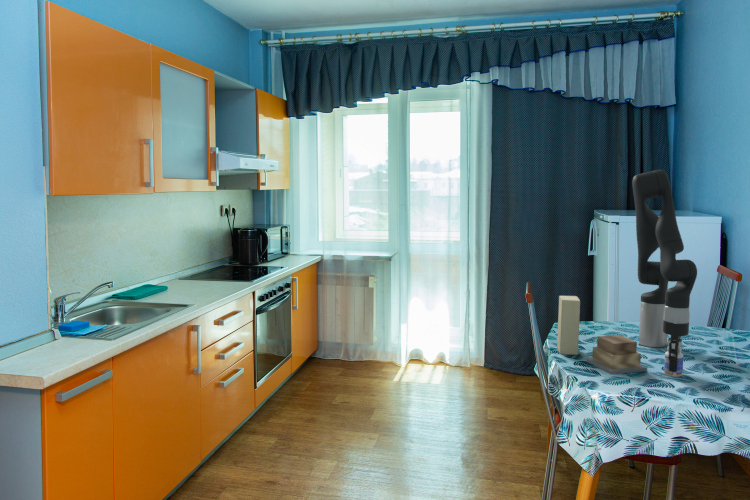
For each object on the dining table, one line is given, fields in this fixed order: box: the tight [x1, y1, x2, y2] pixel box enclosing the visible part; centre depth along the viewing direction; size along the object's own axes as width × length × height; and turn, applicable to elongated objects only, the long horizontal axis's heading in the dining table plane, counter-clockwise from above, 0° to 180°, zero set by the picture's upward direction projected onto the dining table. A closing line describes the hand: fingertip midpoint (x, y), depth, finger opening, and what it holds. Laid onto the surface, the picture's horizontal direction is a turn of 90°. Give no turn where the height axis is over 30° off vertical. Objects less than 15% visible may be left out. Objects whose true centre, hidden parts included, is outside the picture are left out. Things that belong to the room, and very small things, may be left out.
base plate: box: [585, 357, 648, 375], centre depth 187 cm, size 14×14×1 cm
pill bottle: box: [663, 346, 684, 378], centre depth 177 cm, size 5×5×10 cm
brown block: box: [591, 334, 642, 369], centre depth 186 cm, size 11×11×8 cm
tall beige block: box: [556, 295, 581, 356], centre depth 203 cm, size 8×7×21 cm
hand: (673, 368), depth 178 cm, fingers open, 6 cm apart
